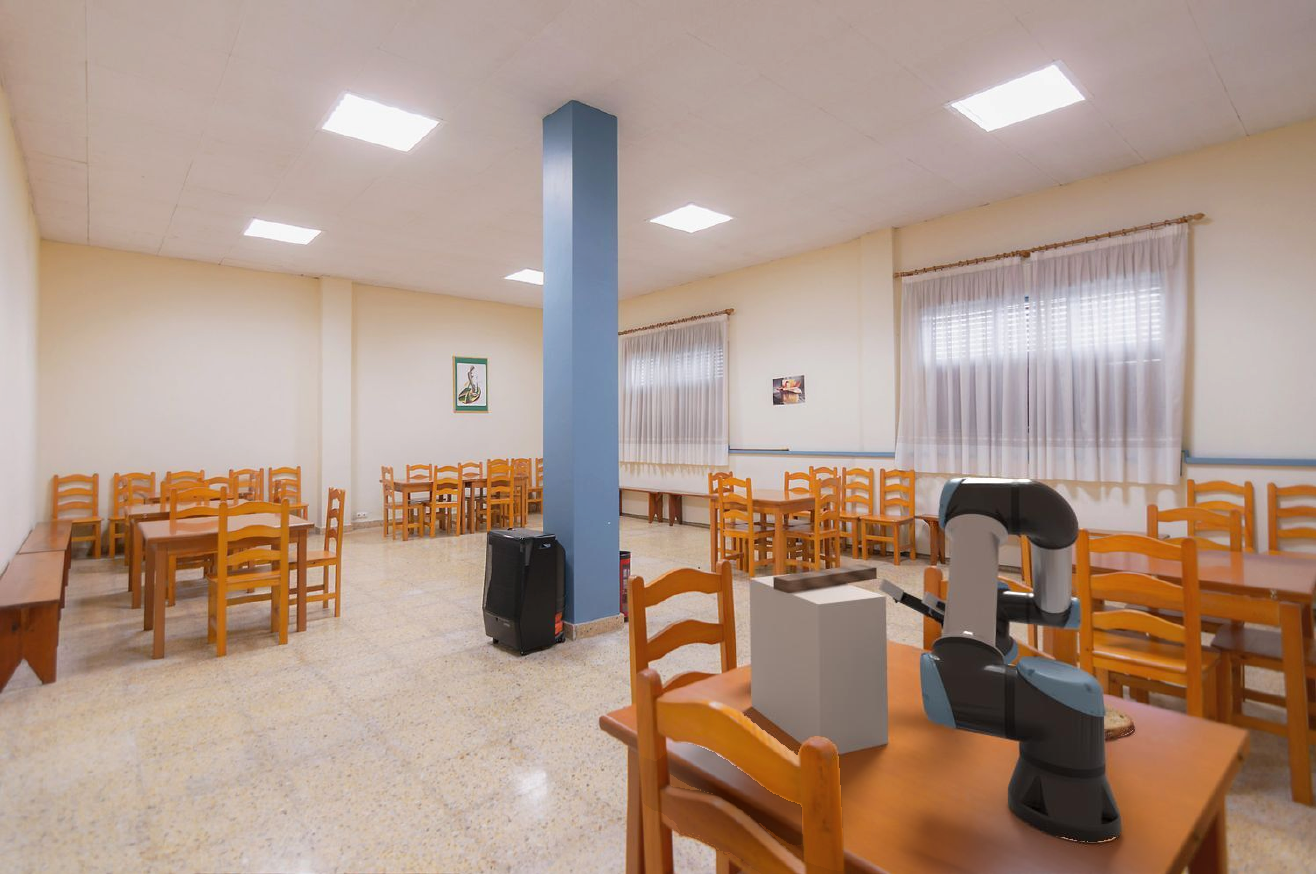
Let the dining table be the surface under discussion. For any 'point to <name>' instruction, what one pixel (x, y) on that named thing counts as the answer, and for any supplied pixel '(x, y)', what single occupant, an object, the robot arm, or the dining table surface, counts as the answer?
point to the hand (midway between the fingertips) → (902, 590)
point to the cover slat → (824, 578)
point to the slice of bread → (1117, 723)
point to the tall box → (820, 662)
